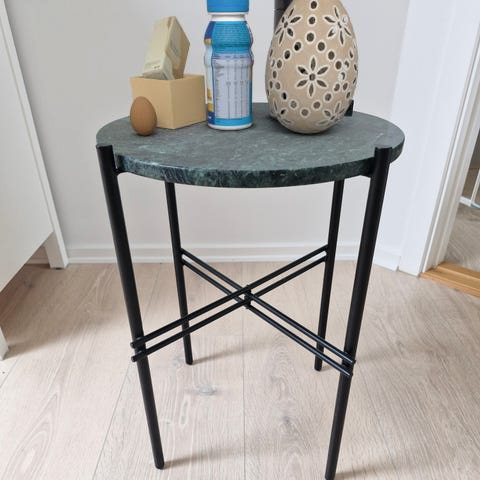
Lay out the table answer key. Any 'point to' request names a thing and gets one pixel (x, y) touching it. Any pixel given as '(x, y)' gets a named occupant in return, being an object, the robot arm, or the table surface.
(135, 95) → the open box
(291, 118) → the ornament
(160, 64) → the cosmetic box
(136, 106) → the egg
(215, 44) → the beverage bottle
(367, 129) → the table surface
